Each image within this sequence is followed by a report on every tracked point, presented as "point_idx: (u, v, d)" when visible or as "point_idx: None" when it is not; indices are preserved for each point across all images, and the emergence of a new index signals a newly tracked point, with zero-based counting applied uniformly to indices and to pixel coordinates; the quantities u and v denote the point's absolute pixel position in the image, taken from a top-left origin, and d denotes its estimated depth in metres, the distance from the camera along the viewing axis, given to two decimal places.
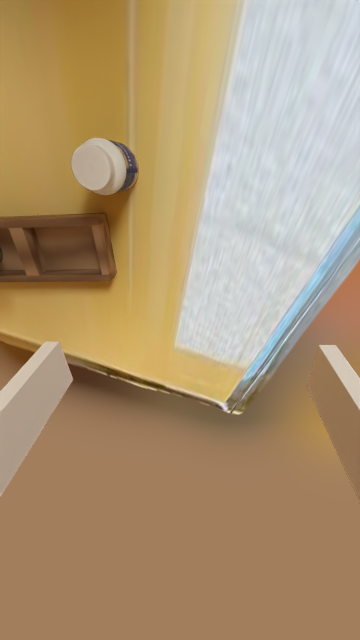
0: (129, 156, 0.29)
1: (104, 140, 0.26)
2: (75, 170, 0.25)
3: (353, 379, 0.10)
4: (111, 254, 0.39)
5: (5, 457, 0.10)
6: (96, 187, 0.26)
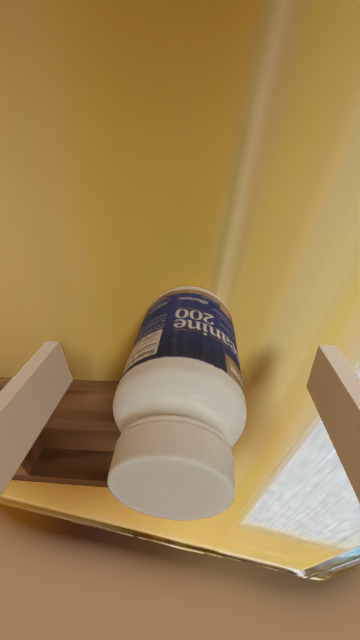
0: (235, 347, 0.12)
1: (203, 378, 0.09)
2: (120, 491, 0.08)
3: (353, 379, 0.10)
4: None
5: (5, 457, 0.10)
6: (179, 518, 0.09)
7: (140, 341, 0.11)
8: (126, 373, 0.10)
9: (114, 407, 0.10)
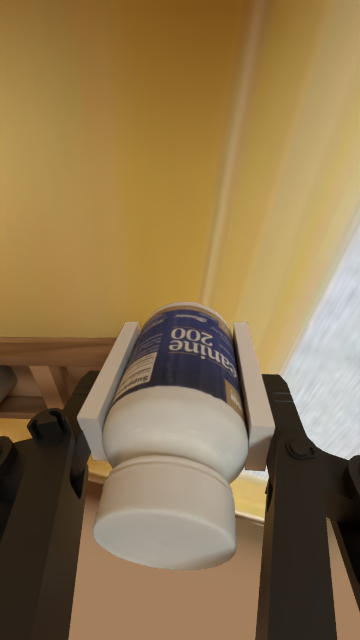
0: (236, 369, 0.11)
1: (200, 411, 0.08)
2: (107, 542, 0.07)
3: (248, 346, 0.12)
4: None
5: None
6: (174, 569, 0.08)
7: (133, 364, 0.10)
8: (117, 402, 0.09)
9: (103, 440, 0.09)
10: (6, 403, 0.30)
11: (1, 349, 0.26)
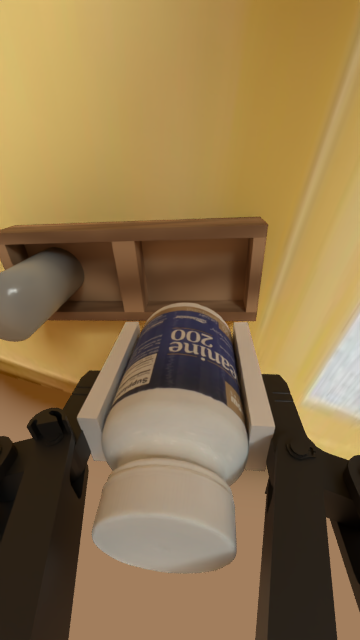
0: (236, 370, 0.11)
1: (200, 413, 0.08)
2: (106, 545, 0.07)
3: (248, 346, 0.12)
4: None
5: None
6: (174, 572, 0.08)
7: (133, 366, 0.10)
8: (116, 404, 0.09)
9: (103, 442, 0.09)
10: (71, 306, 0.27)
11: (76, 227, 0.23)
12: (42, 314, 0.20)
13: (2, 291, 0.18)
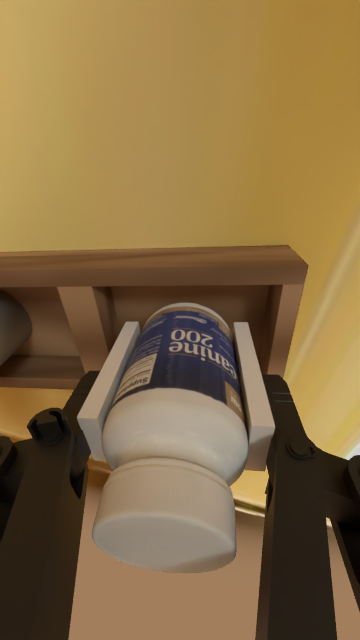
0: (236, 370, 0.11)
1: (200, 413, 0.08)
2: (107, 545, 0.07)
3: (248, 346, 0.12)
4: None
5: None
6: (174, 572, 0.08)
7: (133, 366, 0.10)
8: (116, 404, 0.09)
9: (103, 442, 0.09)
10: (15, 365, 0.19)
11: (6, 262, 0.15)
12: None
13: None
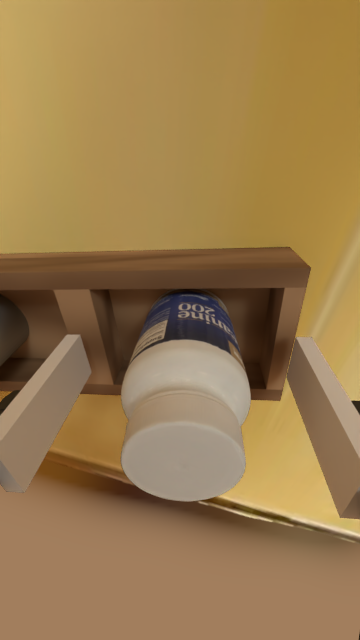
0: None
1: (210, 357, 0.09)
2: (133, 468, 0.08)
3: (324, 367, 0.10)
4: None
5: (36, 442, 0.10)
6: (190, 498, 0.09)
7: (146, 332, 0.12)
8: (135, 359, 0.10)
9: (123, 392, 0.10)
10: (12, 368, 0.19)
11: (2, 264, 0.14)
12: None
13: None
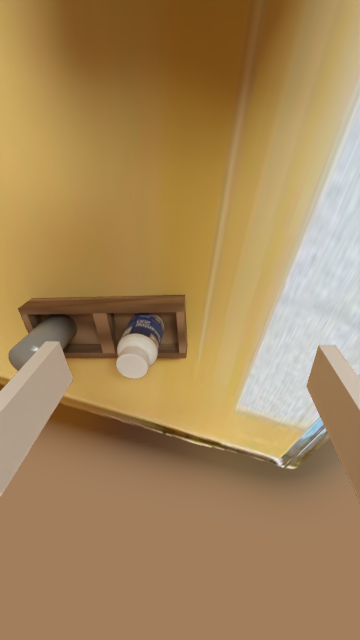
0: (158, 332, 0.35)
1: (141, 338, 0.32)
2: (119, 367, 0.31)
3: (353, 379, 0.10)
4: (186, 331, 0.39)
5: (5, 457, 0.10)
6: (135, 377, 0.31)
7: (125, 331, 0.34)
8: (120, 339, 0.33)
9: (117, 349, 0.33)
10: (68, 348, 0.41)
11: (71, 303, 0.37)
12: None
13: (29, 350, 0.32)
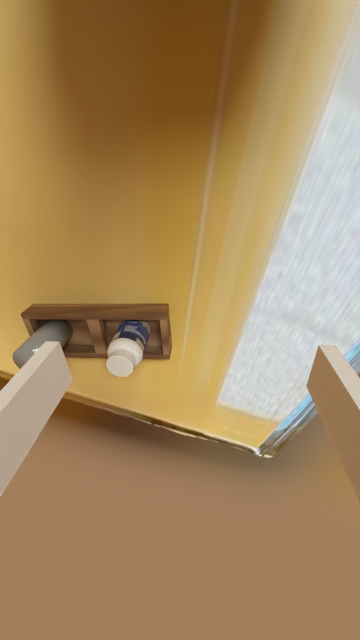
0: (144, 336, 0.40)
1: (127, 342, 0.36)
2: (108, 367, 0.36)
3: (353, 379, 0.10)
4: (170, 335, 0.44)
5: (5, 457, 0.10)
6: (123, 375, 0.36)
7: (114, 335, 0.39)
8: (110, 343, 0.38)
9: (107, 351, 0.38)
10: (65, 348, 0.46)
11: (68, 310, 0.42)
12: None
13: (31, 352, 0.37)
